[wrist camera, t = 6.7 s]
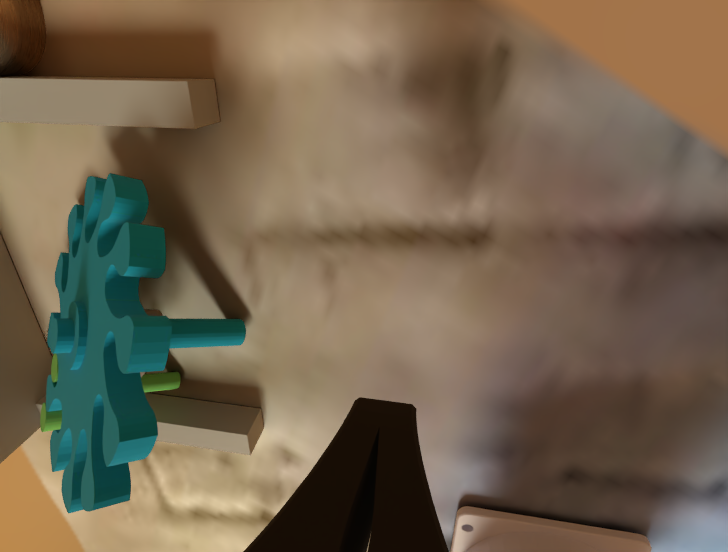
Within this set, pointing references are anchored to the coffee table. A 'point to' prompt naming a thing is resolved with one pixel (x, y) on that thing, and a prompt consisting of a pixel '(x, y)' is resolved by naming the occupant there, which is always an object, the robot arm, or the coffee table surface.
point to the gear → (111, 344)
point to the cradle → (7, 297)
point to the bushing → (21, 36)
